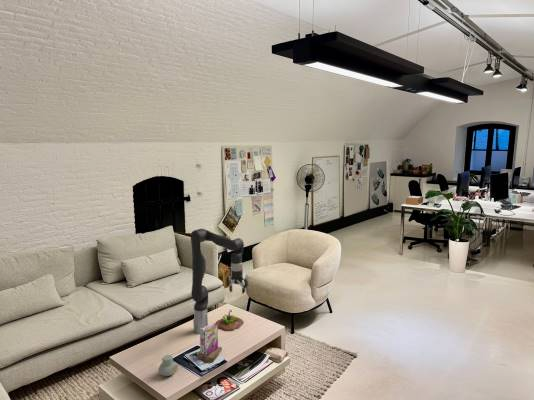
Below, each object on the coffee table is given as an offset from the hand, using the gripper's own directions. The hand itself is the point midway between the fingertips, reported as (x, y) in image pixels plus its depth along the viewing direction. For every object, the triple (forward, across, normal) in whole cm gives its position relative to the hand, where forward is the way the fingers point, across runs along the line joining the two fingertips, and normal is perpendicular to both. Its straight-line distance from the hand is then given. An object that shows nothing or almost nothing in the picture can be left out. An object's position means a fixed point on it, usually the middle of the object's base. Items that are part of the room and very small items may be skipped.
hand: (237, 292), depth 249 cm
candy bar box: (+33, -12, -19) cm, 40 cm away
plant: (+37, -16, +23) cm, 46 cm away
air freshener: (+36, -27, -43) cm, 62 cm away
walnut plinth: (+36, -12, -19) cm, 43 cm away
